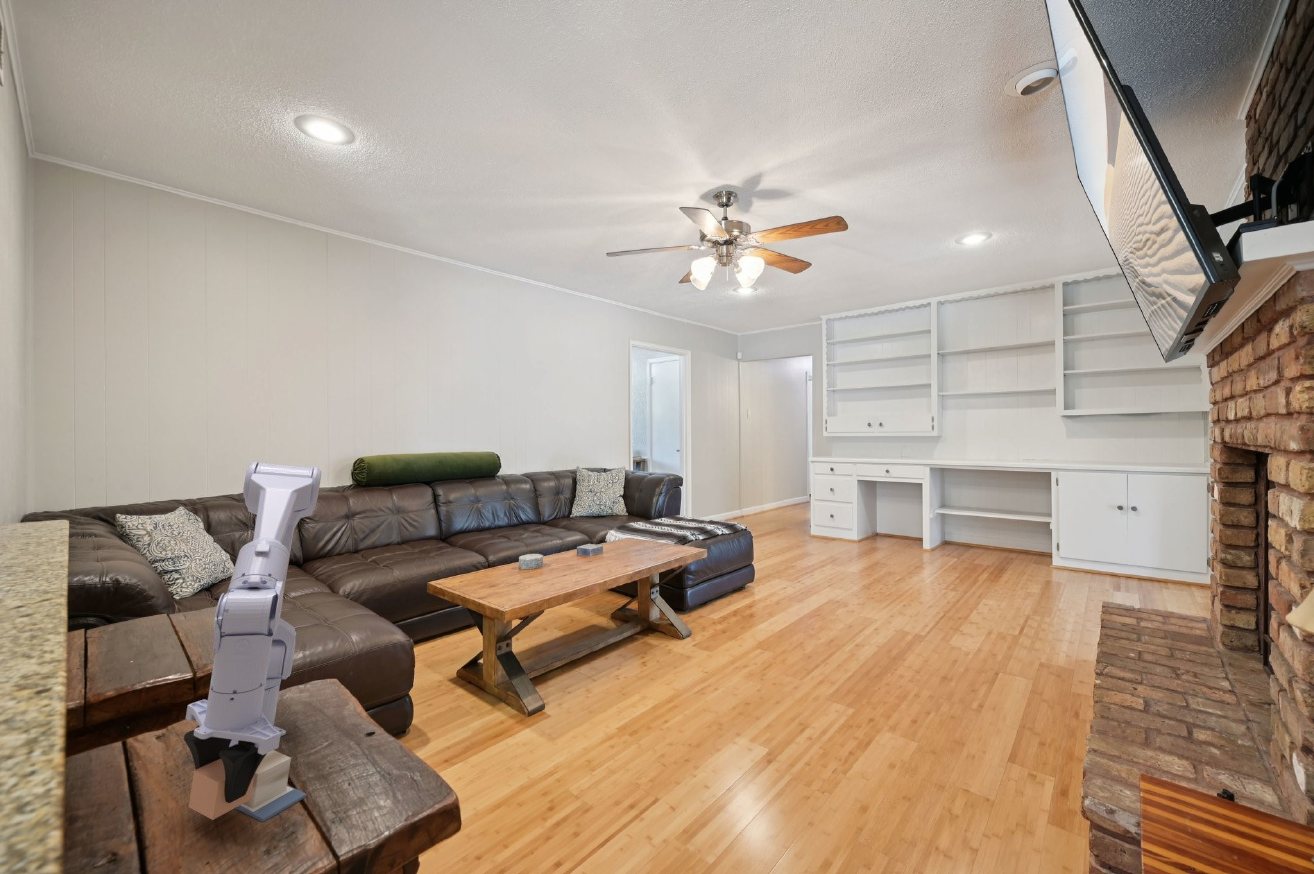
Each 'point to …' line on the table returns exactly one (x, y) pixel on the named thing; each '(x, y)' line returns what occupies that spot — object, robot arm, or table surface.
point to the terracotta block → (213, 791)
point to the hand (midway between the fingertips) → (222, 791)
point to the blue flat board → (273, 804)
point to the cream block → (269, 778)
